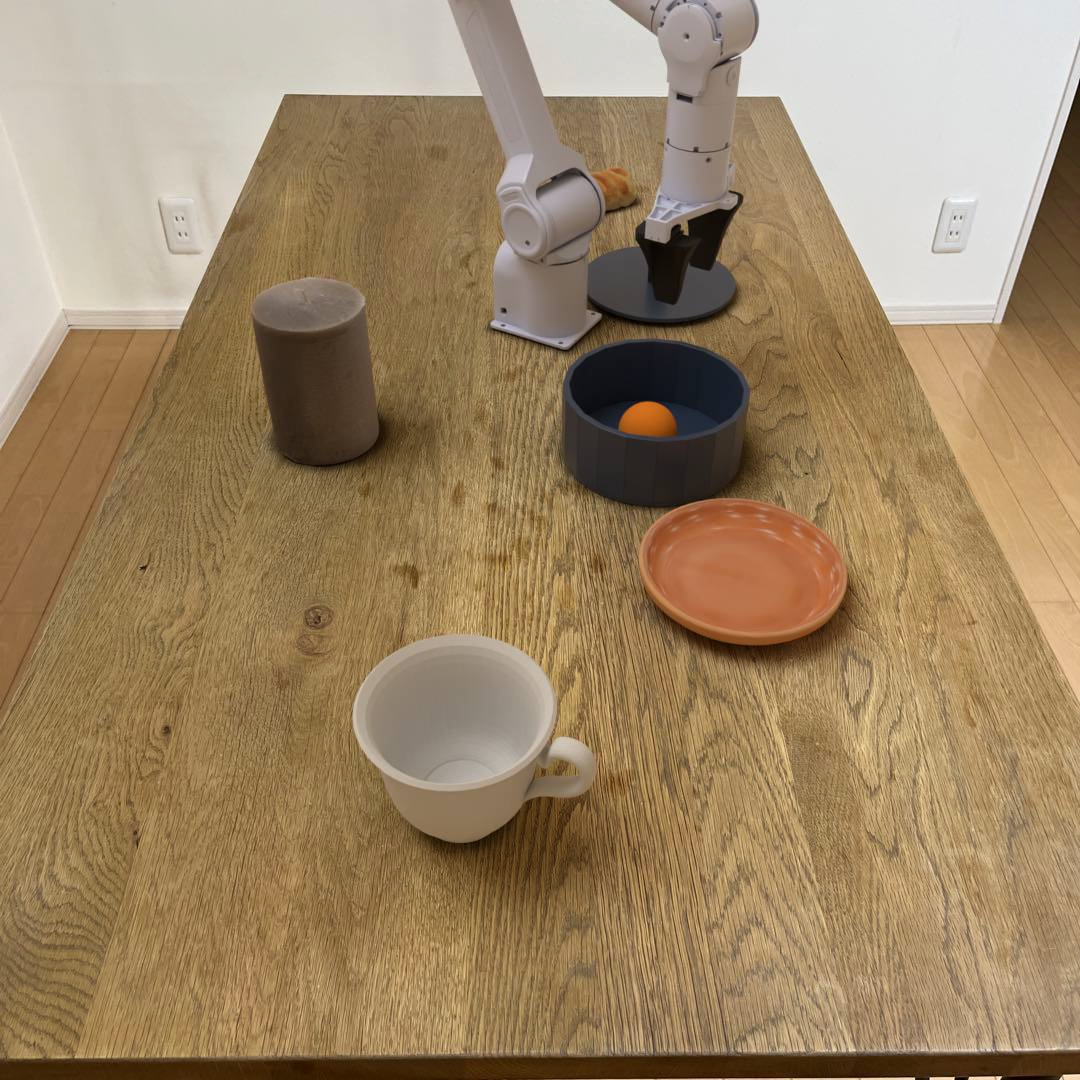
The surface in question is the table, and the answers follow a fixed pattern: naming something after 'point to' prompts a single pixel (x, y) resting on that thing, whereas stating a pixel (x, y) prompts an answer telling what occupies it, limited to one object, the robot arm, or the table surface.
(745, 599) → the saucer
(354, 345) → the pillar candle
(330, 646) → the table surface
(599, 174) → the pastry
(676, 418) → the pot
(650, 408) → the orange
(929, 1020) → the table surface
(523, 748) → the teacup
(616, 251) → the lid
